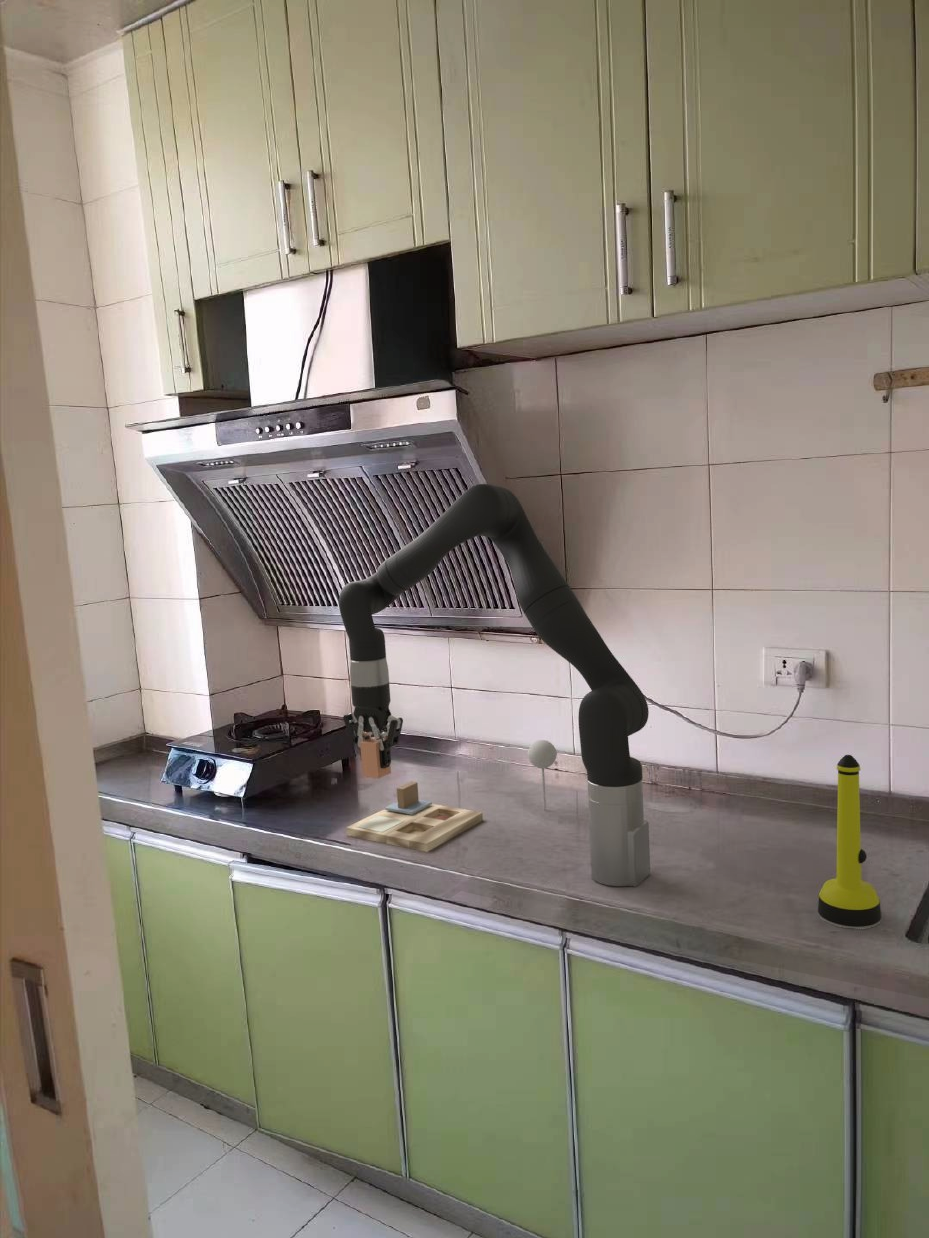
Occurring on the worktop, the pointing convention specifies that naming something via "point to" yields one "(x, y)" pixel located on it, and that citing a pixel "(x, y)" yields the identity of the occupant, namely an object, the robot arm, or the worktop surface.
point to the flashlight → (849, 861)
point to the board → (415, 826)
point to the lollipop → (542, 758)
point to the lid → (408, 800)
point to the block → (372, 759)
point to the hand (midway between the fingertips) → (376, 765)
